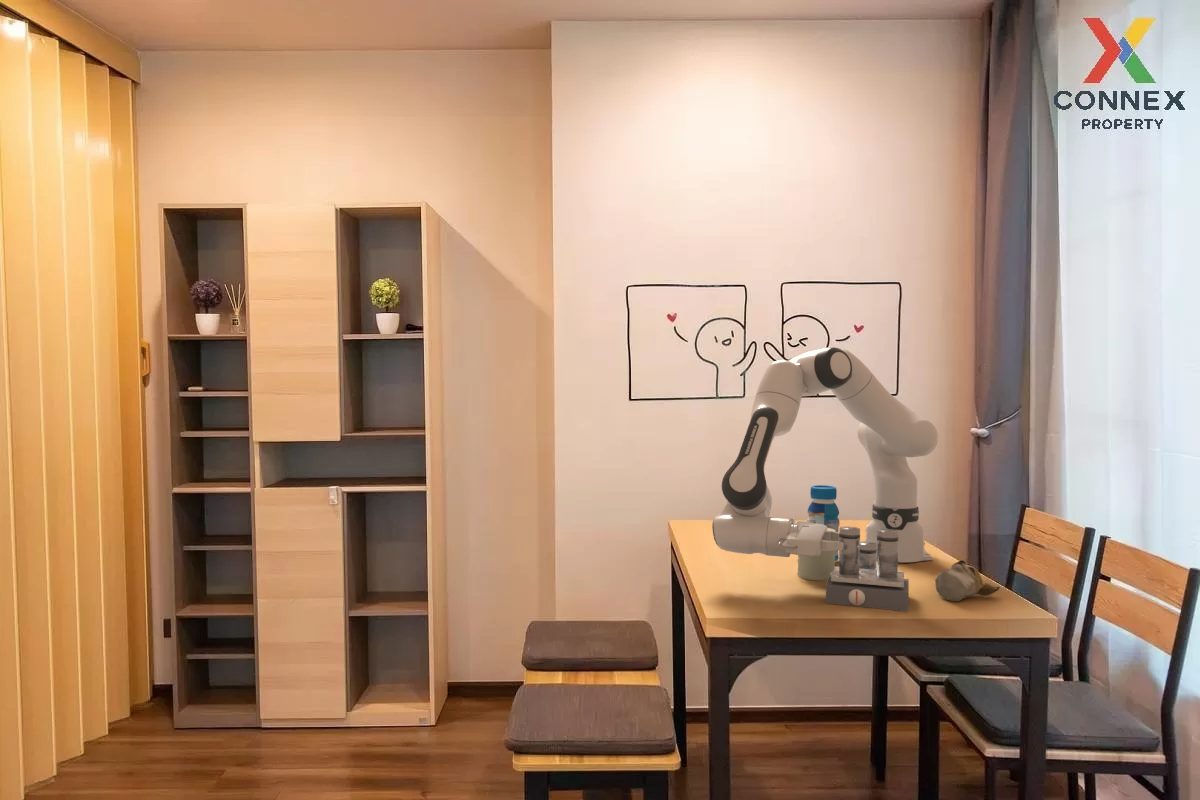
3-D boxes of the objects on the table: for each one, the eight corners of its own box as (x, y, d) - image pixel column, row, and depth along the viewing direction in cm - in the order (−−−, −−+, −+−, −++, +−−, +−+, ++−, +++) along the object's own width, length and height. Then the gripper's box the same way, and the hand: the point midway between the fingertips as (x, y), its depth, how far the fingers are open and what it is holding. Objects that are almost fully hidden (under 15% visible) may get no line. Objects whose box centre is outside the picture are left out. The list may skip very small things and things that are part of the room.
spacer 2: (856, 581, 199) (857, 540, 198) (876, 583, 197) (877, 542, 196) (855, 586, 195) (855, 544, 194) (874, 588, 193) (875, 546, 192)
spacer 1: (839, 569, 187) (839, 526, 187) (860, 571, 186) (860, 527, 186) (838, 574, 183) (838, 529, 183) (859, 575, 182) (859, 531, 181)
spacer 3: (876, 572, 185) (877, 528, 184) (898, 574, 183) (898, 529, 183) (875, 577, 180) (876, 532, 180) (897, 579, 179) (898, 533, 178)
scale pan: (834, 570, 190) (834, 566, 190) (903, 576, 185) (904, 571, 185) (831, 581, 181) (831, 576, 181) (903, 587, 176) (903, 582, 176)
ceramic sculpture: (923, 558, 186) (960, 553, 194) (920, 596, 186) (957, 590, 194) (967, 568, 177) (1004, 562, 186) (965, 608, 177) (1001, 600, 186)
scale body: (830, 589, 192) (830, 572, 192) (908, 596, 186) (908, 579, 186) (825, 603, 180) (825, 585, 180) (908, 611, 174) (908, 593, 174)
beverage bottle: (840, 565, 216) (841, 489, 215) (807, 563, 217) (808, 488, 217) (837, 558, 224) (838, 484, 223) (805, 556, 226) (806, 484, 225)
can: (789, 573, 207) (790, 525, 207) (820, 570, 211) (821, 523, 210) (811, 582, 199) (812, 532, 198) (843, 578, 202) (843, 530, 202)
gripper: (776, 531, 179) (842, 536, 175) (788, 516, 199) (848, 520, 194) (775, 560, 180) (841, 566, 175) (788, 542, 199) (847, 546, 194)
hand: (845, 541), depth 184 cm, fingers open, 8 cm apart
